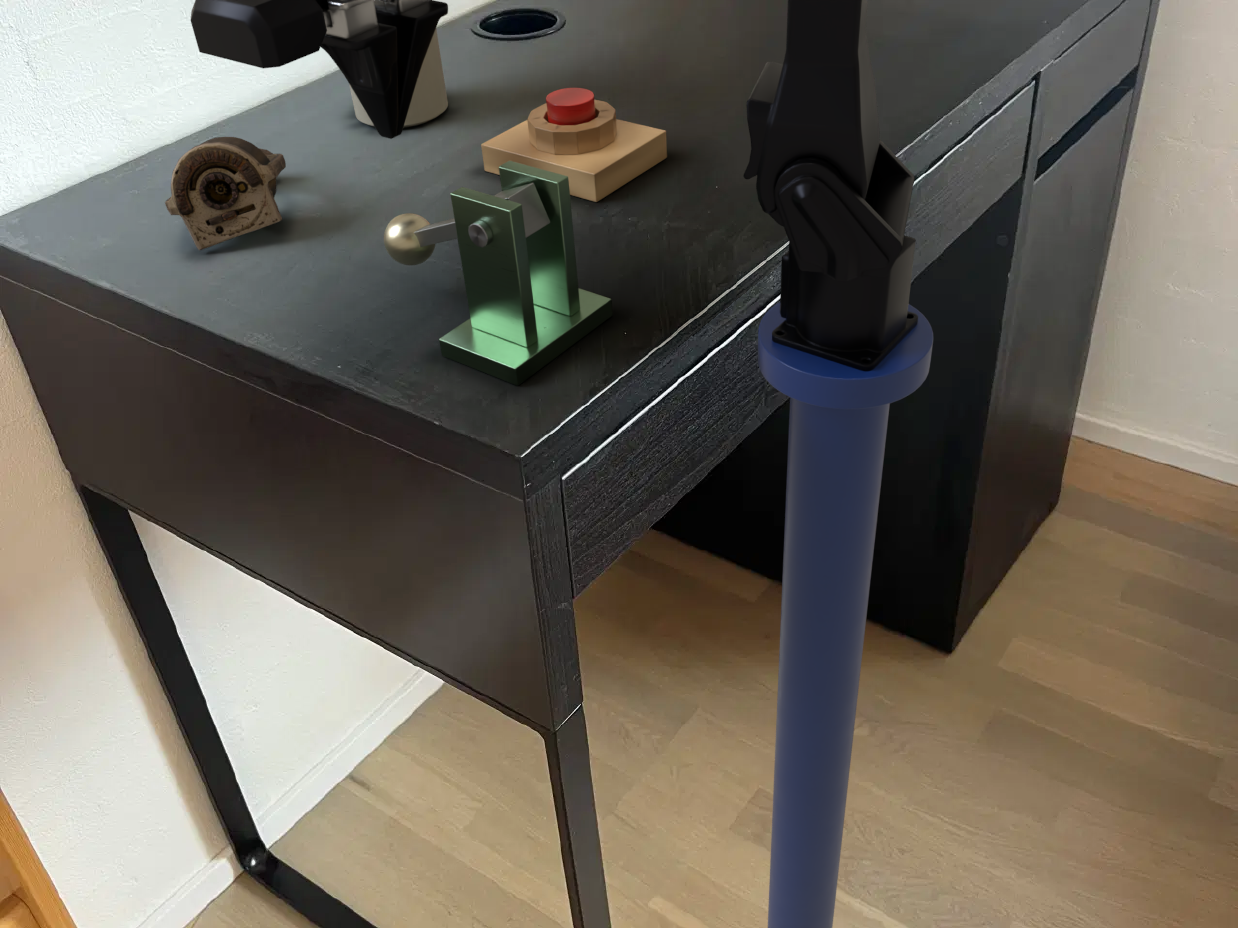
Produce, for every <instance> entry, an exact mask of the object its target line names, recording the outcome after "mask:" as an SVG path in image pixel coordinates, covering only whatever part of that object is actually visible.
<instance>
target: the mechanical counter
mask: <svg viewBox="0 0 1238 928" xmlns="http://www.w3.org/2000/svg"><path fill="white" fill-rule="evenodd" d="M286 168H287V163H286V159H285V157H284V155H283V154H282V153H273V152H271V151H269V150H268V149H265V148H260V147H258V146H256V145H255V144H253V143H252V142H250V141H247V140H245V139H243V138H240V137H237V136H216V137H212V138H210V139H207V140H206V141H204V142H202V143H199V144H197V145H194V146H193V147H192V148H190V149H189V150H187V151H186V152H185V153H184V154H182V156H180V158H179V159H178V160H177V162H176V165H175V166H174V168H173V171H172V174H171V179H170V193H171V196H170V197H168V198H167V199H166V200H165V202H164V203H165V208H166V210H167V211H168V213H169V214H170V216H179V217H180V218H181V219H182V221H183V223H184V225H185V226H186V229H187V231H188V233H189V234H190V236H191V239H192V242H194V246H195V247H196V248H197V250H198V251H203V250H205V249H208V248H210V247H213V246H216V245H219V244H221V243H224V242H226V241H229V240H231V239H234V238H238V237H240V236H243V235H247V234H249V233H252V232H255V231H259V230H261V229H264V228H267V227H269V226H272V225H275V224H276V223H279V222H282V221H283V217H282V214H281V212H280V210H279V205H278V203H277V202H276V199H275V197H276V193H277V187H278V186H277V178H278V177H279V175H280V174H281V172H282V171H283V170H285V169H286Z"/></svg>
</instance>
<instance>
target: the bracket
mask: <svg viewBox="0 0 1238 928" xmlns="http://www.w3.org/2000/svg"><path fill="white" fill-rule="evenodd" d="M499 174H500V175H499V181H500V188H501V191H505V190H508V189H512V188H516V187H519V186H523V185H527V184H531V183H534V185H535V187H536V190H537V192H538V194H539V197H540V199H541V201H542V204H543V206H544V208H545V211H546V213H547V216H548V218H549V220H550V223H549V224H547V225H546V226H544V227H543V228H541V229H539V230H538V231H536V232H535V233H533V234H532V235H530V236H528V237H527V238H526V235H525V227H524V219H523V210H522V204H519V203H516V202H513V201H509V200H506V199H502V198H499V197H495V196H494V195H492V194H488V193H485V192H481V191H478V190H474V189H472V188H469V187H468V188H467V187H465V186H461V187H459V188H457V189H455V190H454V191H452V192H450V200H451V207H452V213H453V218H454V220H455V226H456V232H457V238H458V239H457V244H458V248H459V249H458V250H459V256H460V262H461V268H462V275H463V281H464V286H465V288H464V289H465V293H466V299H467V305H468V313H469V318H468V319H467V320H465V321H464V322H462V323H461V324H459V325H458V326H456V327H454V328H453V329H452V330H450V331H449V332H447V333H446V334H444V335H442V336H441V337H440V338H439V339H438V341H439V347H440V352H441V353H440V354H441V357H444V358H447V359H449V360H451V361H454V362H456V363H460V364H462V365H463V366H467V367H469V368H472V369H474V370H477V371H478V372H479V371H480V372H482V373H485V374H486V375H490V376H492V377H494V378H497V379H499V380H502V381H505V382H507V383H509V384H512V385H515V386H516V387H518V386H520V385H521V384H523V383H524V382H525V381H527V380H528V379H529V378H530V377H532V376H533V375H535V374H536V373H537V372H538V371H540V370H541V369H542V368H544V367H545V366H546V365H548V364H550V363H551V362H552V361H553V360H555V359H556V358H558V357H559V356H560V355H561V354H563V353H564V352H565V351H567V350H569V348H571V347H572V346H574V345H575V344H576V343H577V342H579V341H581V340H582V339H583V338H585V337H586V336H588V334H590V333H591V332H592V331H594V330H595V329H596V328H597V327H600V326H601V325H602V324H603V323H605V322H606V321H607V320H609V319H610V318H612V316H613V305H612V304H613V303H612V299H611V298H609V297H606V296H604V295H600V294H597V293H594V292H592V291H589V290H585V289H582V288H579V279H578V268H577V257H576V246H575V236H574V224H573V213H572V204H571V203H572V202H571V195H570V190H569V179H568V176H565V175H561V174H557V173H554V172H550V171H546V170H543V169H539V168H535V167H531V166H528V165H524V164H520V163H517V162H513V161H508V162H506V163H504V164H502V165H501V166H499Z"/></svg>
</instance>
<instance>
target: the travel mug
mask: <svg viewBox="0 0 1238 928" xmlns="http://www.w3.org/2000/svg"><path fill="white" fill-rule="evenodd" d="M440 49H441V48H440V43H439V37H438V29H437V28H436V29H435V32H434V35H433V37H432V40H431V43H430V45H429V48H428V51H427V53H426V56H425V59H424V61H423V64H422V67H421V70H420V73H419V77H418V78H417V83H416V86H415V90H414V93H413V96H412V100H411V103H410V107H409V110H408V113H407V117H406V120H405V124H404V127H403V129H404V128H410V127H415V126H419V125H422V124H425V123H428V122H430V121H432V120H434V119H436V118H437V117H439V116H440V115H441V114H443V113H444V112H445V111H446V110H447V108H448V106H449V101H448V95H447V94H448V93H447V88H446V81H445V75H444V70H443V68H444V67H443V63H442V57H441V50H440ZM348 86H349V90H350V94H351V99H352V104H353V109H354V114H355V117H356V119H357V120H358V121H359V122H360V123H363V124H365V125H368V126H371V127H375V126H374V125H373V123H372V121H371V120H370V118H369V116H368V114H367V113H366V111H365V109H364V108H363V106H362V104H361V103H360V101H359V99H358V98H357V96H356V94H355V93H354V91H353V89H352V88H351V86H350V84H349V83H348Z"/></svg>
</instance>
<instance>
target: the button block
mask: <svg viewBox="0 0 1238 928" xmlns="http://www.w3.org/2000/svg"><path fill="white" fill-rule="evenodd" d="M594 100H595V114H596V118H595V119H593V120H592V121H590V122H587V123H583V124H578V125H556V124H552V123H549V122H548V114H547V104H546V102H545V103H544V104H541V105H539V106H538V107H536V108H534V109H532V110H531V111H530V113H529V114H528V117H527V119H526V120H524V121H522V122H521V123H518V124H516V125H515V126H513V127H511V128H509V129H507V130H505V131H503V132H502V133H500V134H498V135H496V136H494V137H492V138H490V139H488V140H486V141H485V142H483V143H481V145H480V146H481V147H480V148H481V154H482V161H483V169H484V172H487V173H490V174H494V175H498V176H500V174H499V166H501V165H502V164H504V163H506V162H508V161H513V162H517V163H520V164H524V165H528V166H531V167H535V168H539V169H543V170H546V171H550V172H554V173H557V174H561V175H565V176H568V179H569V190H570V196H573V197H576V198H581V199H584V200H587V201H590V202H594V203H598V202H599V201H601V200H602V199H604V198H605V197H607V196H609V195H610V194H612V193H613V192H615V191H617V190H618V189H621V187H623V186H624V185H626V184H627V183H629V182H631V181H632V180H634V179H635V178H638V177H639V176H640V175H642V174H643V173H645V172H646V171H648V170H650V169H651V168H653V167H654V166H656V165H658V164H659V163H661V162H662V161H664V160H665V159H667V158H668V149H667V147H668V146H667V144H668V143H667V130H664V129H660V128H657V127H651V126H648V125H644V124H639V123H635V122H630V121H626V120H622V119H617V111H616V108H614V107H613V106H612V105H611V104H610V103H608V102H607V101H603V100H598V99H595V98H594Z"/></svg>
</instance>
